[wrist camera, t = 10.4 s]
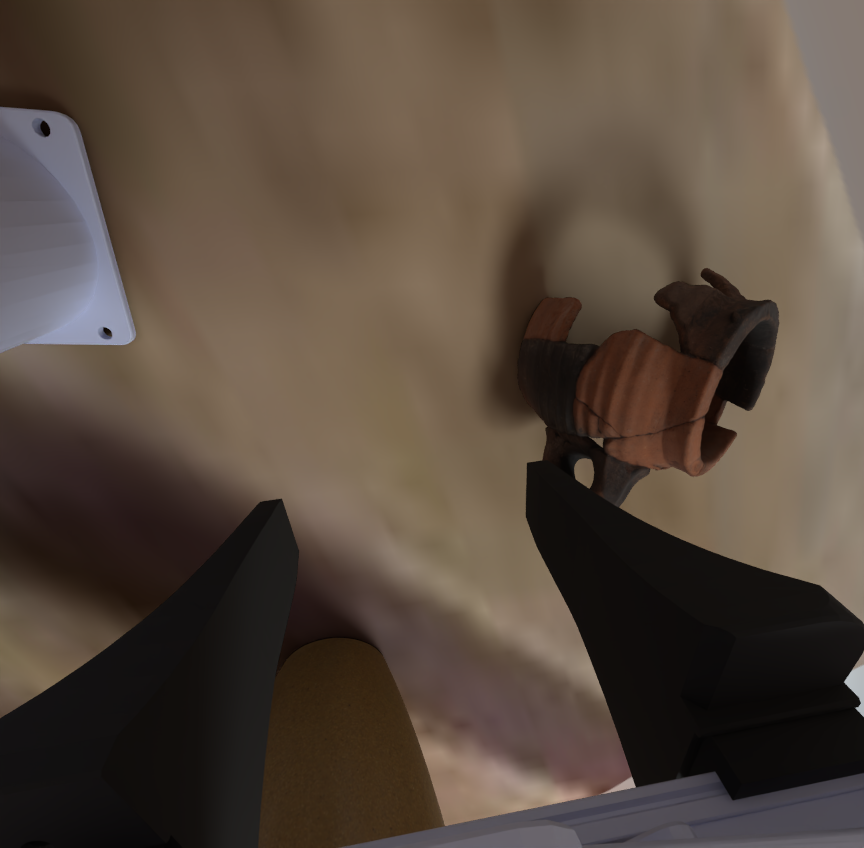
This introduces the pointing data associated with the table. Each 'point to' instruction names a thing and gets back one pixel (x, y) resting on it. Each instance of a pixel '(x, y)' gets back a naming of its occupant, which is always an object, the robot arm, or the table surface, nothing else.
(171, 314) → the table surface
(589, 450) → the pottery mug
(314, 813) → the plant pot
